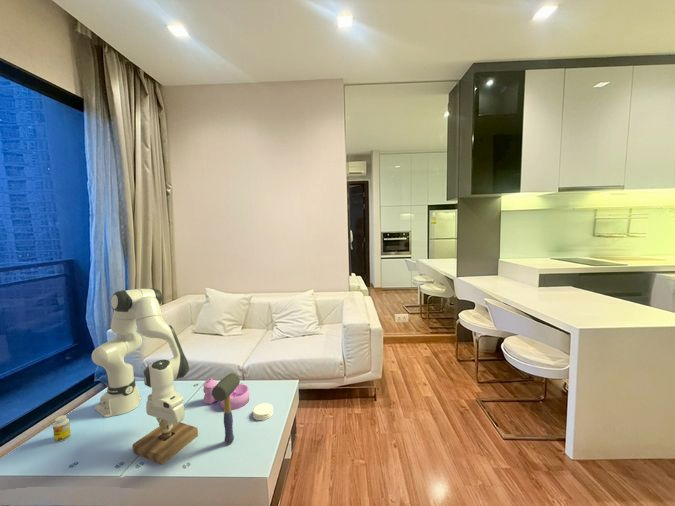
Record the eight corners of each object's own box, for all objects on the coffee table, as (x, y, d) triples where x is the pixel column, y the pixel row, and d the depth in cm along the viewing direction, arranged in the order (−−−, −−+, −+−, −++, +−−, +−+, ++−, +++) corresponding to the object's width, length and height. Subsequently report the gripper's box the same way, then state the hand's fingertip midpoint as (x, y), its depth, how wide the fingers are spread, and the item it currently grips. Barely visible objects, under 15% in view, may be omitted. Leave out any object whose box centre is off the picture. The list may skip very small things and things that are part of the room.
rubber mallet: (229, 453, 125) (225, 386, 123) (213, 451, 127) (209, 385, 124) (244, 433, 137) (240, 372, 135) (229, 432, 139) (225, 371, 136)
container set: (253, 394, 170) (251, 372, 169) (243, 410, 155) (241, 386, 154) (211, 393, 172) (210, 372, 171) (197, 409, 157) (195, 386, 156)
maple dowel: (160, 441, 131) (158, 416, 130) (168, 436, 134) (166, 411, 133) (166, 443, 129) (164, 417, 128) (173, 438, 133) (171, 412, 132)
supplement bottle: (51, 441, 135) (49, 420, 135) (65, 433, 141) (63, 413, 140) (59, 443, 134) (57, 422, 133) (73, 435, 139) (71, 415, 138)
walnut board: (133, 452, 127) (132, 444, 127) (170, 426, 144) (170, 419, 143) (161, 464, 120) (161, 455, 120) (197, 435, 137) (197, 427, 136)
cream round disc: (249, 418, 149) (248, 412, 148) (260, 407, 158) (260, 401, 158) (265, 422, 145) (265, 416, 145) (276, 411, 154) (276, 404, 154)
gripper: (140, 396, 131) (143, 426, 132) (173, 406, 123) (175, 437, 125) (154, 389, 137) (156, 417, 138) (186, 398, 129) (188, 427, 130)
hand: (166, 427), depth 131 cm, fingers closed on maple dowel, 4 cm apart
